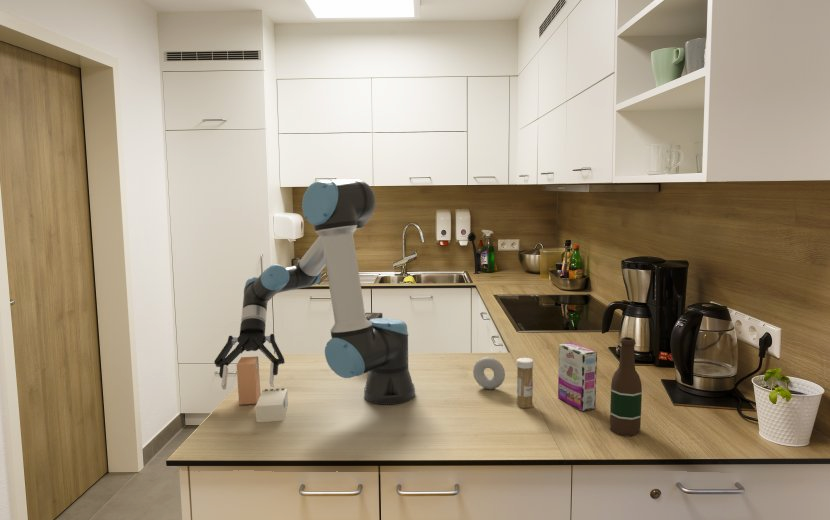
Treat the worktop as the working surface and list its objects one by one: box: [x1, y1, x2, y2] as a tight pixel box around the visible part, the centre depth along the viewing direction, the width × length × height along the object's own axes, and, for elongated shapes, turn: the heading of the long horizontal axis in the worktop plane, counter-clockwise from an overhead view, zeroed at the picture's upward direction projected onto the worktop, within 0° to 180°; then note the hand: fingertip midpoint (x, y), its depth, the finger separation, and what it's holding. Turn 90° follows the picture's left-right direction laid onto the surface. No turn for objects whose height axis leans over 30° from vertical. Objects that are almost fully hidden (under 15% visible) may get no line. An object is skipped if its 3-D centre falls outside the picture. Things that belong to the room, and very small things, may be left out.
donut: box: [472, 356, 506, 390], centre depth 179 cm, size 10×4×10 cm, turn 65°
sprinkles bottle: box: [516, 357, 534, 409], centre depth 165 cm, size 5×5×14 cm
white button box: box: [255, 387, 289, 423], centre depth 164 cm, size 7×12×5 cm, turn 6°
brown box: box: [236, 356, 262, 406], centre depth 173 cm, size 5×7×12 cm
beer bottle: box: [609, 336, 643, 437], centre depth 147 cm, size 8×8×24 cm
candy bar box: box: [557, 342, 598, 412], centre depth 166 cm, size 11×5×16 cm, turn 23°
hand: (247, 386), depth 171 cm, fingers open, 13 cm apart
